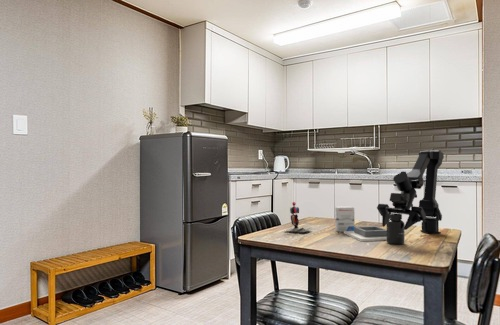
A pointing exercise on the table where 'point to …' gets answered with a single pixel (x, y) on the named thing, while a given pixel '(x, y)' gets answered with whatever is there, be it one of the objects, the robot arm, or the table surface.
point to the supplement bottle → (395, 229)
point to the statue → (296, 221)
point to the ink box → (344, 219)
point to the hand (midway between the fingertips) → (393, 227)
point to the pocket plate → (368, 233)
